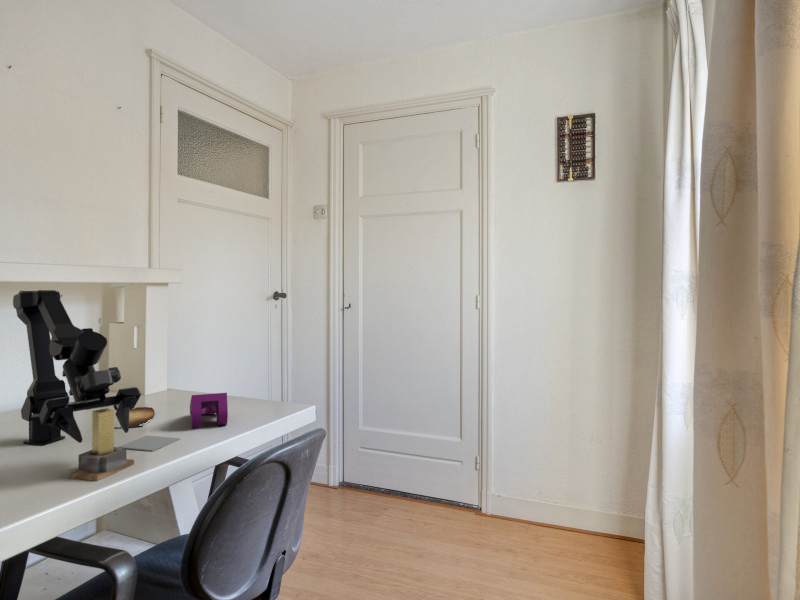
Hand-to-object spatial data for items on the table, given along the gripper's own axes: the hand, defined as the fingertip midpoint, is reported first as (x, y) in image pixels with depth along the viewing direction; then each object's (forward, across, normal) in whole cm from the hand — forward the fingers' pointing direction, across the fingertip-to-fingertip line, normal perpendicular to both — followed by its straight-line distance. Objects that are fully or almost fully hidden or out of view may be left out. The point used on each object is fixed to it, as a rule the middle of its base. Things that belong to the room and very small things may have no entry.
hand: (104, 436), depth 107 cm
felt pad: (-3, +16, +14) cm, 21 cm away
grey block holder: (+5, 0, +6) cm, 8 cm away
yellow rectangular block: (+5, 0, +6) cm, 8 cm away
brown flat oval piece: (-23, +26, +34) cm, 49 cm away
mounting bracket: (-9, +37, +20) cm, 43 cm away
